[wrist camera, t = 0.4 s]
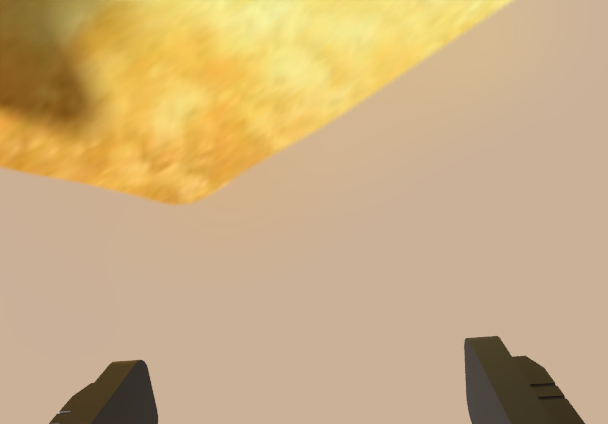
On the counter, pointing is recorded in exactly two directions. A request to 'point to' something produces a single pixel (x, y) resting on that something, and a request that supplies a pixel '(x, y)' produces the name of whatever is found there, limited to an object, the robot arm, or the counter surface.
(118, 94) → the counter surface
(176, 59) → the counter surface
